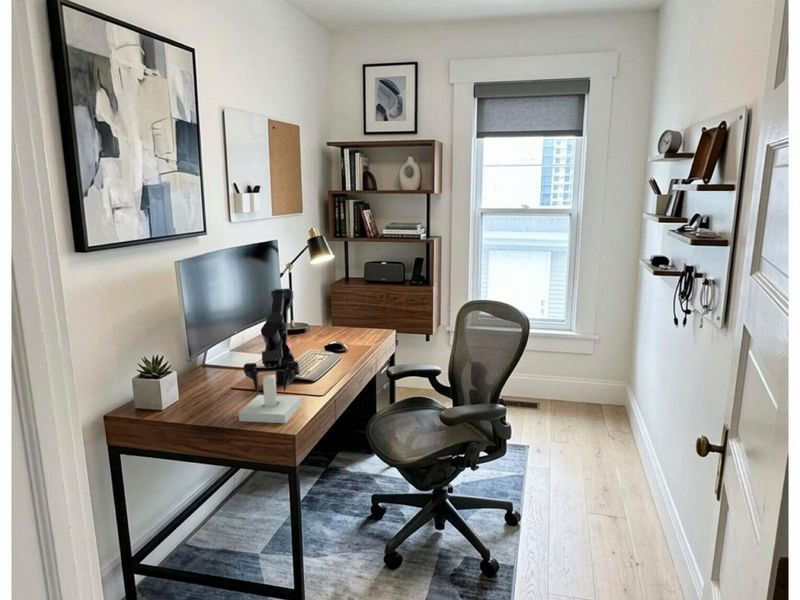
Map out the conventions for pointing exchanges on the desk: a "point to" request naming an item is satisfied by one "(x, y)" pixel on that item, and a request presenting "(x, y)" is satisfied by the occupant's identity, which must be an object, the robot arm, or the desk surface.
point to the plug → (270, 390)
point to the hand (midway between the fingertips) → (270, 391)
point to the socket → (270, 410)
